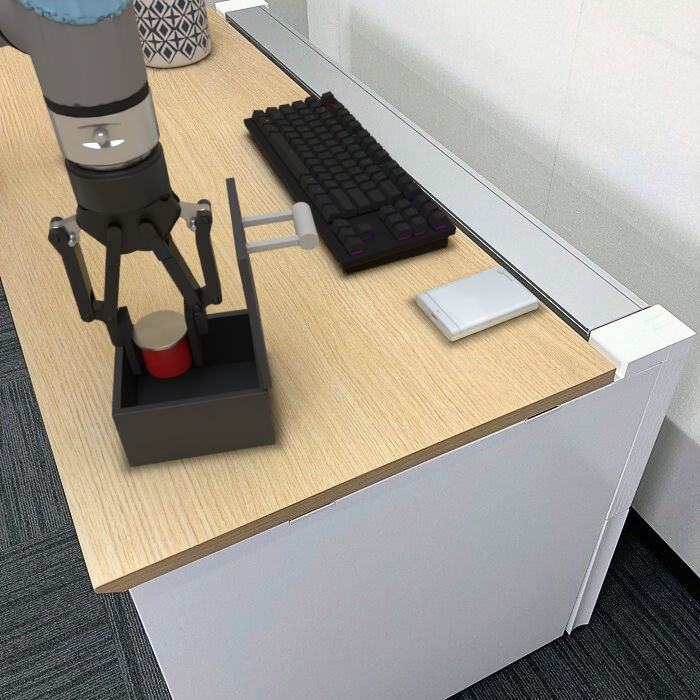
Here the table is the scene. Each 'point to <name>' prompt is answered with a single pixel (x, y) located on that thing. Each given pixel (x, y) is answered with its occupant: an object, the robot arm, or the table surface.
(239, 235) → the box lid
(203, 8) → the planter
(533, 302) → the hard drive
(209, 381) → the dark grey open box
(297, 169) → the keyboard
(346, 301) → the table surface
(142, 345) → the coffee pod
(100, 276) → the table surface
